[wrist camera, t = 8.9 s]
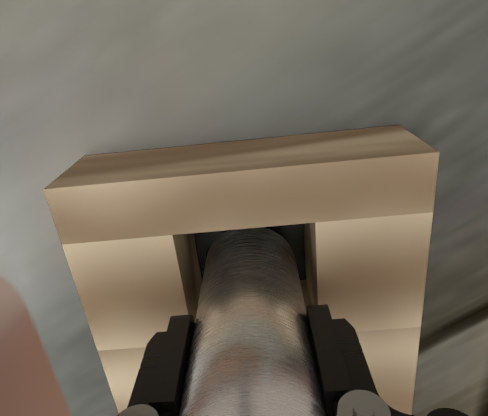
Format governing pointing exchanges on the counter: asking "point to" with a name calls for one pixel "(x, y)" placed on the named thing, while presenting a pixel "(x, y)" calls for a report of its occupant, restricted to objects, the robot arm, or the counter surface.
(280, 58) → the counter surface
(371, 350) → the socket block
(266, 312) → the peg
